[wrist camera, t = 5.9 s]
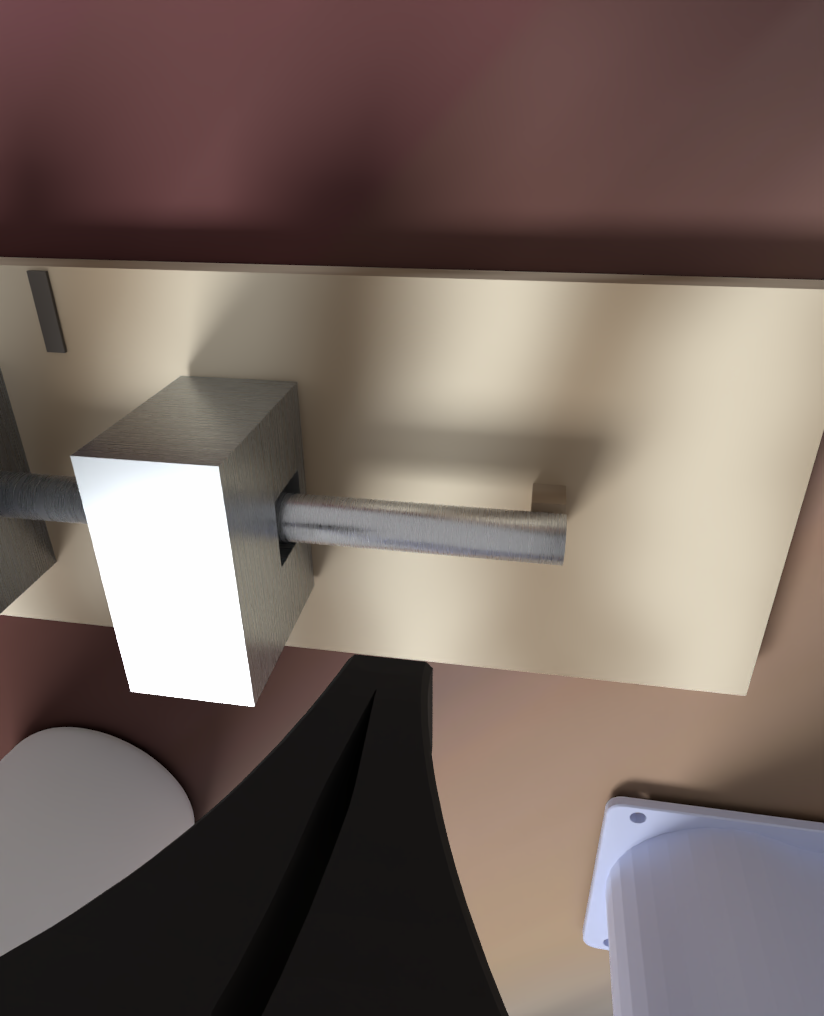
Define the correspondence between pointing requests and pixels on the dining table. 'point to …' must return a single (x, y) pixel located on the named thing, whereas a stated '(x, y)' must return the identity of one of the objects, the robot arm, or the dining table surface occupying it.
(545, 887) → the dining table surface
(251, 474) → the grey block with hole
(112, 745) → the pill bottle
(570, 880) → the dining table surface
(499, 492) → the bolt board
